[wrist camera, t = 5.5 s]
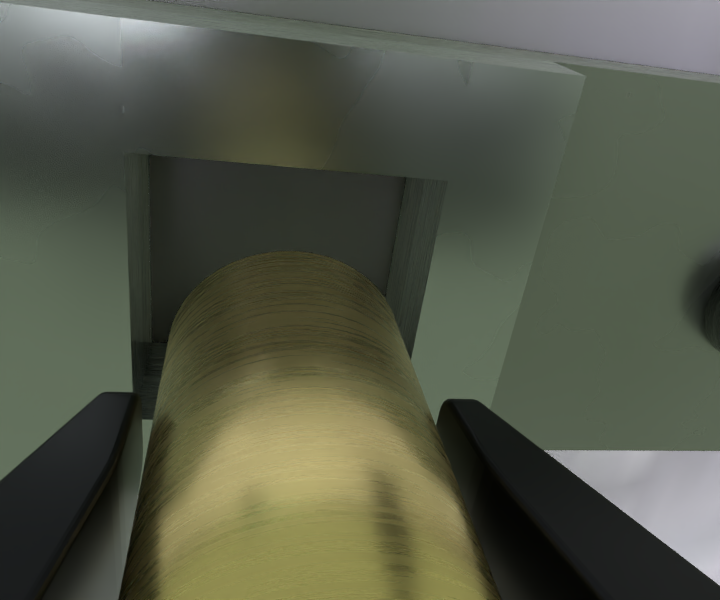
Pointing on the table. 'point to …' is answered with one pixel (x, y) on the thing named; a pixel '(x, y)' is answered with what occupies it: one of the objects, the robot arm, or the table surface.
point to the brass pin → (296, 451)
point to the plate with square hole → (416, 221)
